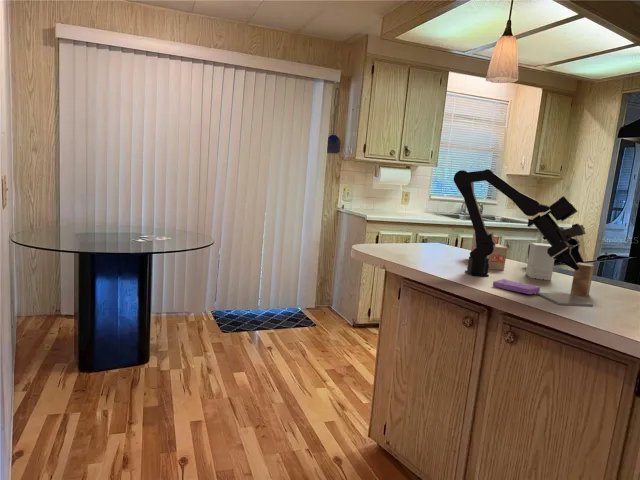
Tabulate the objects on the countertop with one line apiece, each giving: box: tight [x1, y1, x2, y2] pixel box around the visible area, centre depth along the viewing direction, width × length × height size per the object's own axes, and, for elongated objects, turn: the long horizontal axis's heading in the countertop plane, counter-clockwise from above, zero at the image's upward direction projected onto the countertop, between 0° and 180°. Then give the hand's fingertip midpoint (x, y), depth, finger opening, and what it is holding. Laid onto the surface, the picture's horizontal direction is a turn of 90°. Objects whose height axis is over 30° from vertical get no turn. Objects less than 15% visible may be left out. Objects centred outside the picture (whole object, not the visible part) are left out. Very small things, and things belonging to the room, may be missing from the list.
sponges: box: [492, 278, 541, 295], centre depth 144 cm, size 7×13×2 cm, turn 39°
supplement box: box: [525, 242, 556, 281], centre depth 166 cm, size 7×7×13 cm
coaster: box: [535, 291, 594, 307], centre depth 136 cm, size 11×11×1 cm
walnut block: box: [570, 262, 595, 298], centre depth 145 cm, size 4×4×10 cm
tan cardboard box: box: [470, 231, 508, 271], centre depth 185 cm, size 21×6×12 cm, turn 2°
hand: (581, 267), depth 145 cm, fingers open, 9 cm apart
